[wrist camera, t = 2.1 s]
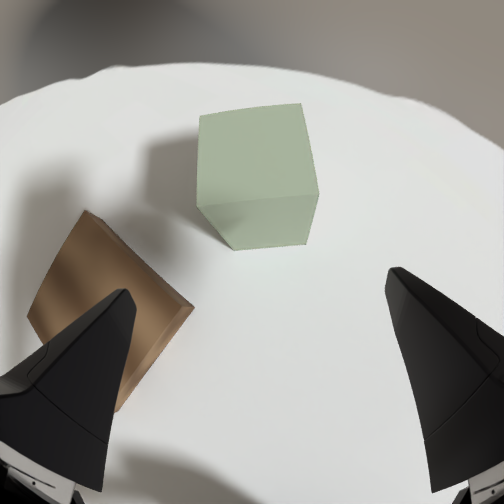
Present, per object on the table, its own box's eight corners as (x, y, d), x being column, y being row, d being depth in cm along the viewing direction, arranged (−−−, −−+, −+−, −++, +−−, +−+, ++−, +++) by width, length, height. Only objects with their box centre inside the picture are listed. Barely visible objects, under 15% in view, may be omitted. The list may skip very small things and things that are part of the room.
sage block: (306, 244, 22) (319, 193, 13) (234, 250, 23) (196, 206, 13) (297, 179, 24) (300, 103, 14) (231, 186, 24) (199, 116, 15)
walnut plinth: (117, 411, 21) (100, 419, 18) (44, 317, 24) (26, 316, 21) (195, 307, 22) (181, 306, 19) (102, 219, 25) (85, 210, 22)
